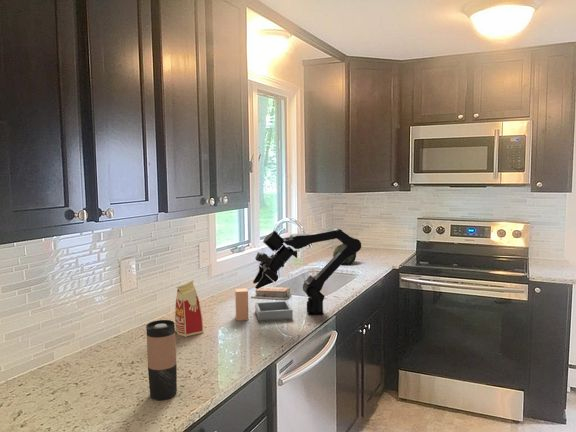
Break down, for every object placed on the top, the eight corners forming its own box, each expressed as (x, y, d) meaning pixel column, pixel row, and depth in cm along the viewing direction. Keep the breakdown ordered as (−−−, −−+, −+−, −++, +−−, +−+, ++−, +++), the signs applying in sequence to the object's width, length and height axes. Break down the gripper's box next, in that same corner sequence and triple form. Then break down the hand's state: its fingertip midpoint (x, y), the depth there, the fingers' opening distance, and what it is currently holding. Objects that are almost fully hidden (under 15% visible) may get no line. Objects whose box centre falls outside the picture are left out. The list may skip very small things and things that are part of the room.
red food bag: (194, 326, 188) (192, 277, 186) (204, 332, 180) (203, 281, 178) (172, 331, 182) (170, 280, 180) (182, 337, 175) (180, 284, 173)
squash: (332, 252, 318) (334, 238, 306) (354, 253, 317) (357, 239, 306) (333, 270, 308) (335, 255, 297) (355, 270, 308) (358, 256, 297)
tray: (286, 309, 208) (286, 300, 208) (292, 319, 194) (292, 310, 194) (255, 311, 206) (255, 302, 205) (258, 321, 192) (258, 312, 191)
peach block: (247, 316, 200) (246, 288, 199) (248, 319, 195) (247, 291, 194) (235, 316, 199) (235, 288, 198) (236, 320, 194) (235, 291, 193)
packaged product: (291, 285, 233) (286, 291, 223) (291, 295, 233) (286, 301, 224) (257, 284, 237) (250, 289, 228) (257, 293, 238) (250, 298, 228)
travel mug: (180, 388, 134) (178, 319, 132) (173, 401, 126) (170, 328, 124) (154, 388, 134) (151, 319, 132) (145, 401, 127) (141, 328, 125)
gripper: (263, 242, 205) (239, 268, 204) (269, 249, 187) (242, 277, 186) (282, 259, 207) (257, 285, 206) (289, 267, 189) (262, 296, 188)
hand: (254, 285), depth 197 cm, fingers open, 9 cm apart
